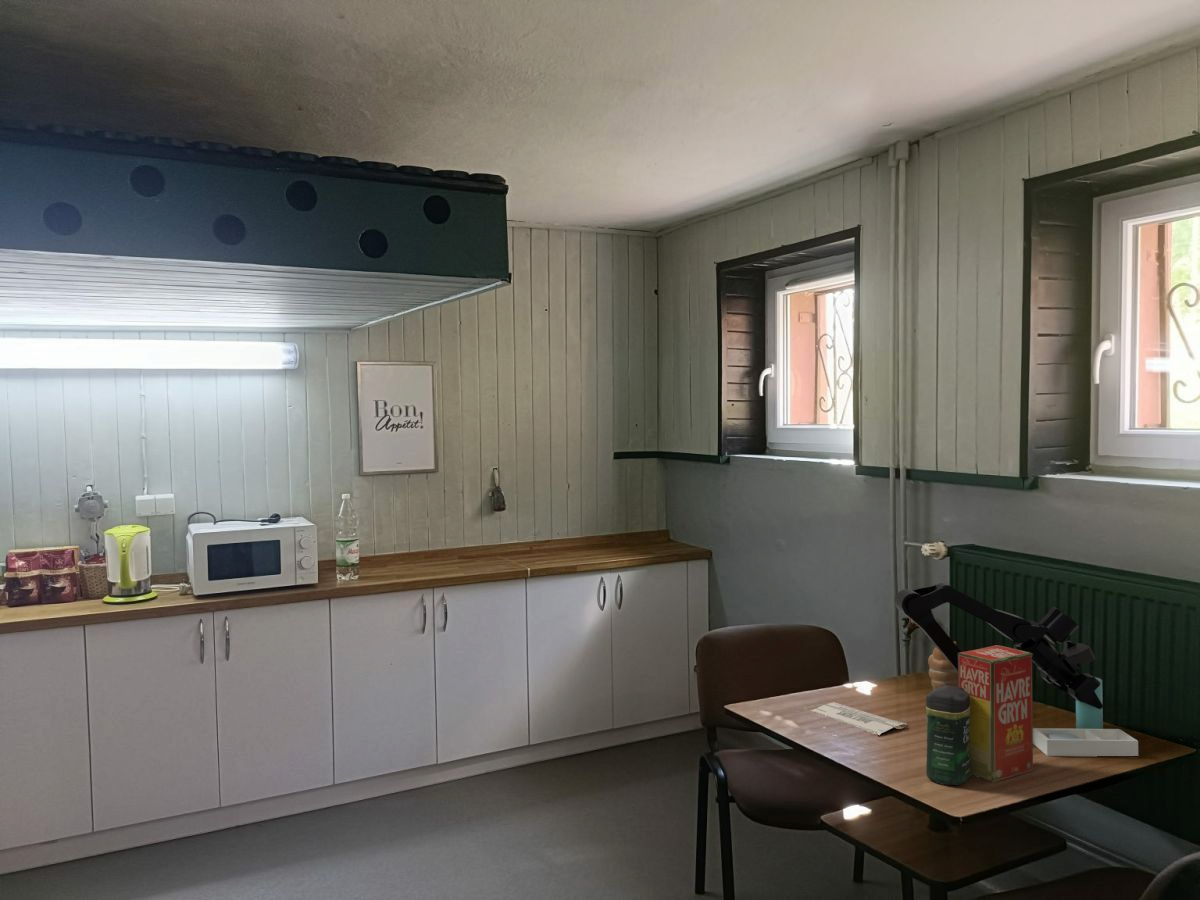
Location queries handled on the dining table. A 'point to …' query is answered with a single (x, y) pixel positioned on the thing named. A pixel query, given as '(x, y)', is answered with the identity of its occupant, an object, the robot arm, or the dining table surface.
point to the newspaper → (858, 718)
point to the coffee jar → (948, 735)
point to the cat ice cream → (941, 671)
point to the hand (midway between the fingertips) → (1095, 704)
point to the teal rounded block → (1090, 713)
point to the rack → (1084, 742)
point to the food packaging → (999, 710)
